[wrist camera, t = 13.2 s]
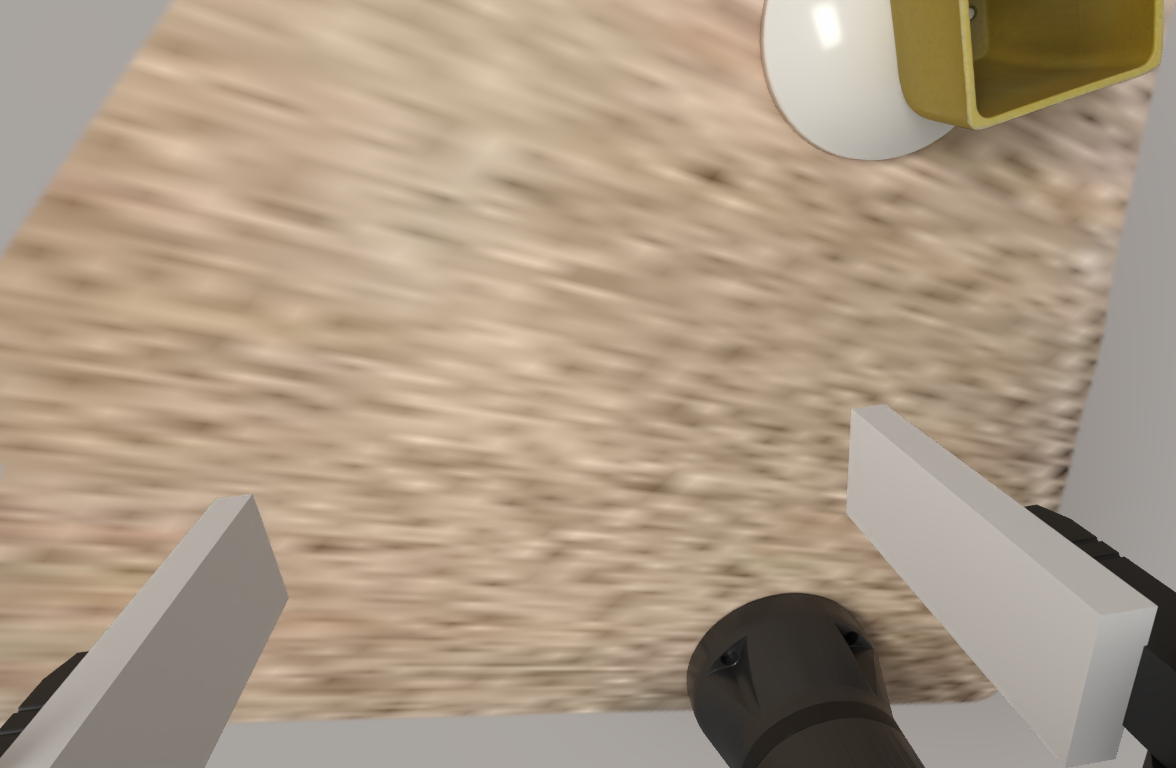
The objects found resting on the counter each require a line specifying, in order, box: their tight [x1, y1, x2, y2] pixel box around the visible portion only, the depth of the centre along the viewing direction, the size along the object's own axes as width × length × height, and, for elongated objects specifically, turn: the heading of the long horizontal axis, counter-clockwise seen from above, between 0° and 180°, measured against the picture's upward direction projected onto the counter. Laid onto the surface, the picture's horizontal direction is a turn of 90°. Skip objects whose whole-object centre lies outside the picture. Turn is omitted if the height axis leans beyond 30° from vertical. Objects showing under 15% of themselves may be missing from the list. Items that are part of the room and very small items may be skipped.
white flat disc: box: [760, 0, 974, 160], centre depth 35 cm, size 14×14×1 cm
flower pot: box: [890, 0, 1164, 130], centre depth 31 cm, size 9×9×9 cm
